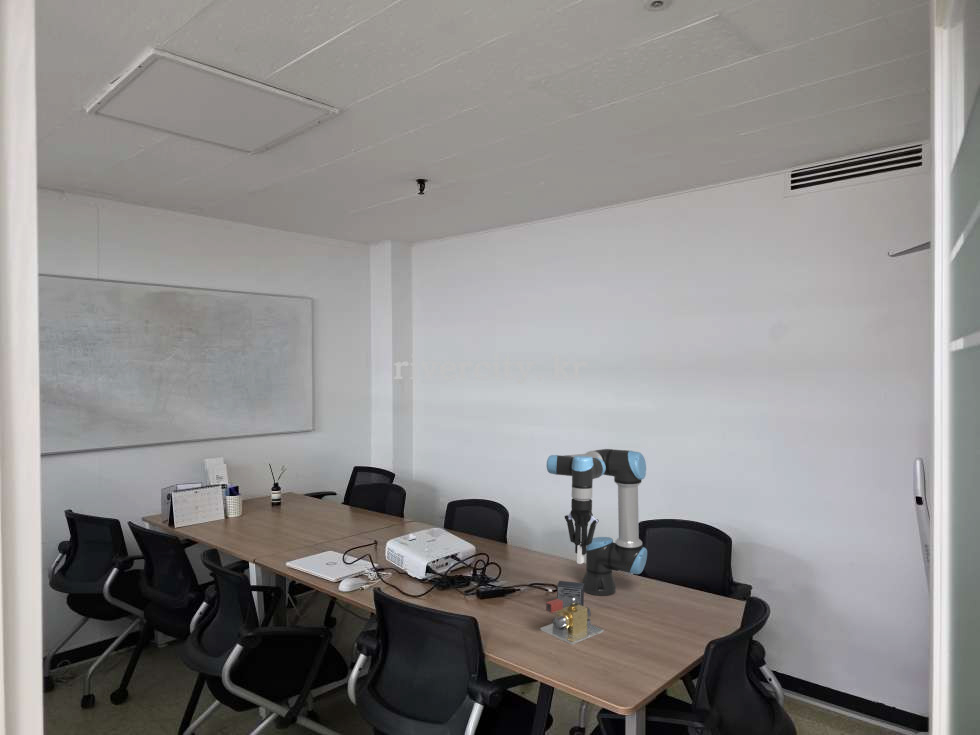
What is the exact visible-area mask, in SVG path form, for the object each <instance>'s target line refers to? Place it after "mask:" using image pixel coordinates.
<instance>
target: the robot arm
mask: <svg viewBox="0 0 980 735" xmlns="http://www.w3.org/2000/svg"><path fill="white" fill-rule="evenodd" d="M546 470H547V472H548V473H549V474H550V475H555V476H566V477H567V476H568V477H571V498H572V499H571V505H570V506H571V508H570V509H571V510H570V512H569V514H567V515H564V520H565V521H566V525H567V528H568V534H569V541H570V543H573V544H574V545H575V546H574V547H575V548H574V549H575V550H574V552H575V554H577V556H576V558H577V559H576V563H577V564H579V565H582V564H584V563H585V567H586V568H585V573H584V577H583V579H582V582H581V583H584V593H586V594H589V595H593V596H601V597H602V596H610V595H614V594H615V593H616V592H617V587H616V586H617V585H616V582H615V578H614V576H613V571H617V572H623V573H627V574H635V575H640V574H641V573H642V572H643V571H644V569H645V566H646V562H647V559H648V549H647V548H646V547H645V546H643V541H642V540H641V539H640V538H639V537H640V536H639V534H640V532H639V531H640V530H639V529H640V528H639V525H640V524H639V486H640V484H641V483H642V481H643V480H644V479H645V478H646V475H647V462H646V459H645V456H644V455H643V454H642V453H641V452H640V451H636V450H635V451H634V450H624V449H612V448H603V449H596V450H590V451H586V452H585V453H580V454H568V455H558V454H550V455H549V456H548V457H547V460H546ZM601 476H609V477H613V481H614V483H615V484H616V485H617V500H618V501H617V506H618V508H617V513H618V538H617V539H616V540H615V541H614V540H613V538H612V537H609V536H598V537H594V534H595V530H596V527H597V524H598V523H599V519H597V518H595V517H594V515H593V513H592V512H593V500H592V499H593V481H594V479H598V478H600V477H601ZM589 523H590V526H589ZM588 526H589V529H588ZM585 555H586V556H585ZM585 557H586V558H585ZM585 559H586V560H585Z"/></svg>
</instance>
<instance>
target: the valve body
mask: <svg viewBox="0 0 980 735" xmlns="http://www.w3.org/2000/svg"><path fill="white" fill-rule="evenodd" d="M556 612H557V613H556V617H554V618H553V619H552V623H549V624H547V625H545V626H542V627H540V628H539V631H541V632H544V633H546V634H548V635H549V636H552V637H554V638H556V639H559V640H560V641H563V642H565V643H567V644H569V645H572V646H573V645H575V644H577V643H580V642H581V641H584V640H587V639H589V638H592V637H594V636H596V635H599V634H601V633H604V631H605V630H604V628H601V627H598V626H596V625H593V624H592V620H591V614H592V612H591V610H590V608H589V607H587V606H581V605H579V604H578V605H577V606H568V607H565V608H563V609H561V610H558V611H556ZM589 618H590V619H589Z"/></svg>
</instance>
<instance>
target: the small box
mask: <svg viewBox="0 0 980 735" xmlns="http://www.w3.org/2000/svg"><path fill="white" fill-rule="evenodd" d="M556 586H557V587H556V588H557V589H556V590H557V591H556V599H560V598H563V597H566V596H567V595H568V594H576V595H578V604H579V605H581V606H584V605H585V604H584V601H585V600H584V599H585V598H584V597H585V596H584V594H585V592H584V583H582V582H576V581H575V582H574V581H566V580H565V581H564V580H559V581H558V582H557V585H556ZM584 607H585V606H584Z"/></svg>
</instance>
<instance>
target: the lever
mask: <svg viewBox="0 0 980 735" xmlns="http://www.w3.org/2000/svg"><path fill="white" fill-rule="evenodd" d="M577 605H578V595H576V594H568V595H567V596H566V597H563V598H560V599H557V598H555V599H552V600H549V601H546V602H545V611H546V612H549V613H555V612H557V611H558V610H561V609H563V608H565V607H568V606H577Z"/></svg>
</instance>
